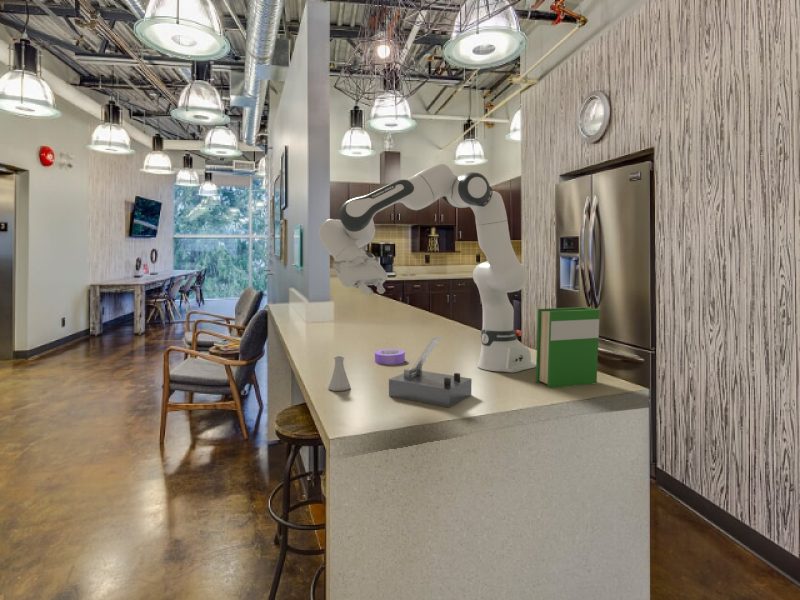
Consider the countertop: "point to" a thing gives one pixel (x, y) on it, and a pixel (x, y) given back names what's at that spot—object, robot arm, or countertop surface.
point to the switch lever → (424, 355)
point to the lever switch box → (430, 387)
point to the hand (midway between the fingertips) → (376, 293)
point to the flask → (339, 376)
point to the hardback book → (567, 346)
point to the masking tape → (389, 356)
